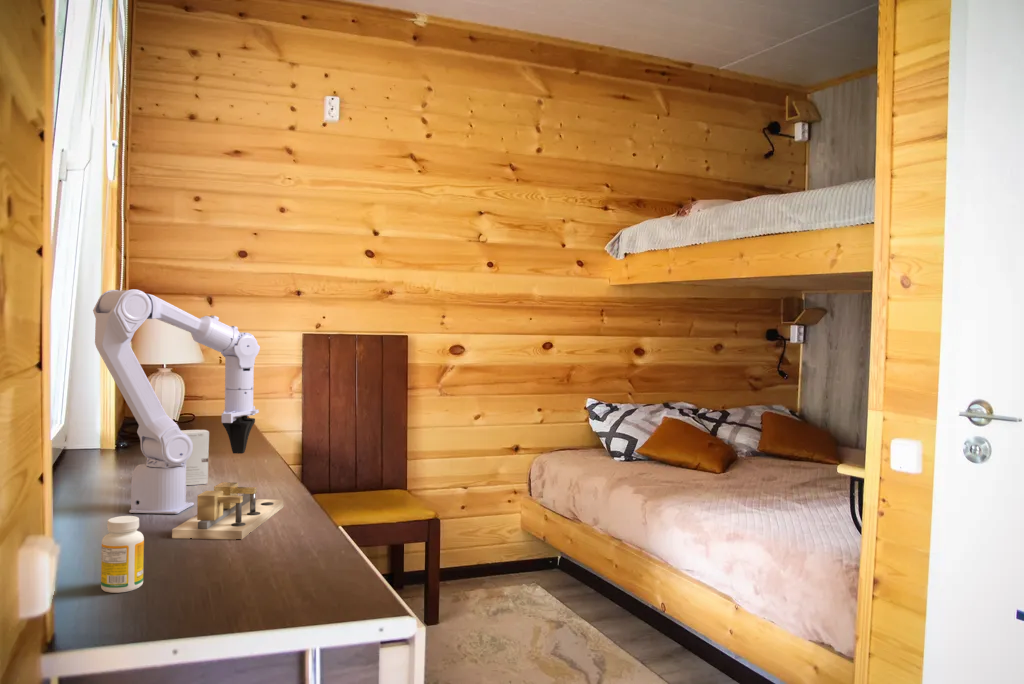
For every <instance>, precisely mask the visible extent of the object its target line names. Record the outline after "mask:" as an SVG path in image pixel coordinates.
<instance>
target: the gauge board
mask: <svg viewBox="0 0 1024 684" xmlns="http://www.w3.org/2000/svg"><path fill="white" fill-rule="evenodd" d="M196 503H197V506H196V507H197V509H196V510H197V512H196V513H197V514H196V515H194V516H192V517H190V518H189V519H187V520H186V521H184V522H183V523H181V524H179V525H177V526H176V527H174V528H172V529H171V538H172V539H190V538H192V539H194V540H195V539H198V540H199V539H201V540H203V539H204V540H236V539H241V540H243V539H244V538H246V537H247V536H248V535H250V534H251V533H252V532H254V531H255V530H256V529H257V528H258V527H260V526H261V525H263V524H264V523H265V522H266V521H268V520H269V519H271V517H273V516H274V515H275V514H277V513H278V512H279V511H280V510H282V509H283V508H284V499H265V498H264V499H261V498H260V499H256V512H253V513H251V512H250V494H240V495H238V496H223V491H214V490H205V491H203V492H201V493H200V494H198V495H197V502H196ZM223 503H236V505H235V506H233V507H232V508H230V509H223ZM250 532H251V533H250ZM249 533H250V534H249Z"/></svg>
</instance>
